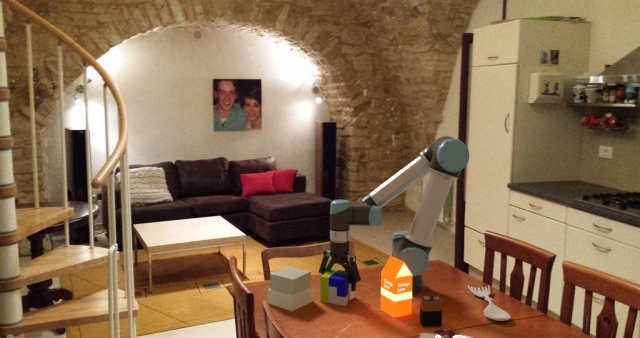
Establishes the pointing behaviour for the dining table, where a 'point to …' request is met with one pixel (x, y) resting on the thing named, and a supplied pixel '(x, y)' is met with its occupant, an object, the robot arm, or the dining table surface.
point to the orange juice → (396, 288)
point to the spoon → (490, 305)
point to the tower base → (290, 299)
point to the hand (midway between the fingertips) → (338, 295)
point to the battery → (430, 311)
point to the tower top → (290, 280)
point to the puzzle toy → (335, 287)
